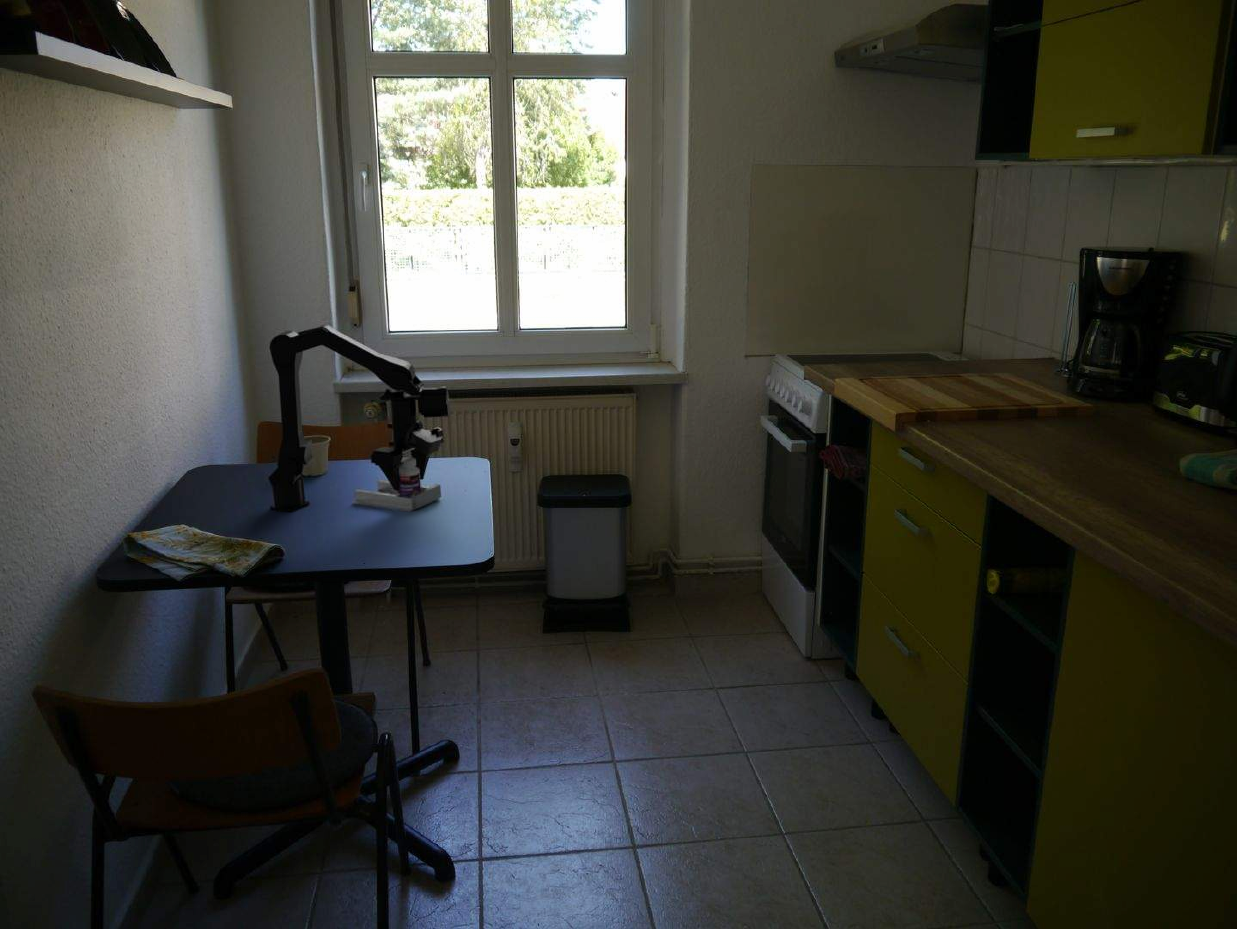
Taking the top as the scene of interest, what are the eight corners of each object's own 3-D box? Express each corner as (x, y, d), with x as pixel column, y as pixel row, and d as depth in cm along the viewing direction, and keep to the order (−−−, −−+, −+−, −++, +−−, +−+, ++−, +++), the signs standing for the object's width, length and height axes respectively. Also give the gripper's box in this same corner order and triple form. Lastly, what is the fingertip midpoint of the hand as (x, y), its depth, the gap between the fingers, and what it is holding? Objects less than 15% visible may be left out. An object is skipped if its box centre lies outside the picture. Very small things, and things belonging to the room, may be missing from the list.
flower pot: (287, 475, 260) (283, 442, 257) (313, 466, 268) (310, 434, 265) (315, 480, 256) (311, 446, 253) (341, 470, 264) (338, 437, 261)
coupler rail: (414, 512, 229) (413, 497, 228) (353, 503, 236) (351, 488, 235) (443, 498, 239) (442, 483, 238) (383, 490, 246) (382, 475, 245)
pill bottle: (400, 505, 233) (397, 463, 230) (395, 498, 237) (392, 457, 235) (424, 501, 235) (421, 460, 232) (418, 495, 239) (415, 455, 237)
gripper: (408, 430, 219) (413, 500, 224) (457, 412, 235) (461, 477, 240) (366, 426, 224) (372, 494, 228) (417, 408, 240) (422, 472, 244)
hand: (409, 484), depth 235 cm, fingers open, 9 cm apart
